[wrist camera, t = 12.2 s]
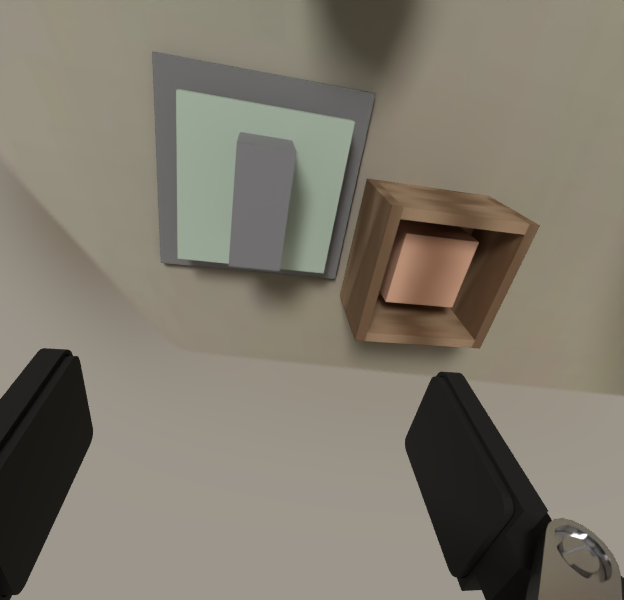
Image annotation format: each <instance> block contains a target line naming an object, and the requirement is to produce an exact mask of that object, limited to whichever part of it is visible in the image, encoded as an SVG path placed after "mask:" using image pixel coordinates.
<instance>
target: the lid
mask: <svg viewBox="0 0 624 600" xmlns="http://www.w3.org/2000/svg"><path fill="white" fill-rule="evenodd" d="M354 124H355V122H354V121H353V120H349V119H343V118H337V117H332V116H326V115H321V114H315V113H310V112H304V111H299V110H293V109H287V108H282V107H276V106H271V105H265V104H260V103H254V102H248V101H243V100H237V99H232V98H226V97H221V96H215V95H209V94H204V93H198V92H193V91H187V90H182V89H177V90H176V135H177V247H178V259H187V260H197V261H207V262H217V263H227V264H229V266H232V267H242V268H252V269H262V270H272V271H280V269H286V270H296V271H305V272H315V273H324V269H325V264H326V259H327V254H328V250H329V245H330V240H331V235H332V230H333V226H334V221H335V216H336V211H337V206H338V201H339V197H340V192H341V187H342V182H343V177H344V173H345V168H346V163H347V158H348V153H349V148H350V144H351V139H352V134H353V129H354Z"/></svg>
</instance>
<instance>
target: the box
mask: <svg viewBox="0 0 624 600" xmlns="http://www.w3.org/2000/svg"><path fill="white" fill-rule="evenodd" d="M539 226H540V225H538V224H536V223H535V222H533V221H531V220H529V219H528V218H526V217H524V216H523V215H521V214H519V213H517V212H516V211H514V210H512V209H510V208H509V207H507V206H505V205H503V204H502V203H500V202H498V201H497V200H495V199H493V198H491V197H490V196H483V195H476V194H469V193H462V192H455V191H449V190H442V189H435V188H428V187H421V186H414V185H407V184H400V183H393V182H386V181H379V180H372V179H367V181H366V186H365V190H364V194H363V198H362V203H361V207H360V211H359V216H358V220H357V224H356V229H355V233H354V237H353V241H352V246H351V250H350V254H349V259H348V263H347V267H346V272H345V276H344V280H343V284H342V289H341V293H340V297H341V300H342V303H343V306H344V309H345V312H346V315H347V318H348V321H349V324H350V326H351V329H352V332H353V335H354V338H355V340H356V341H372V342H387V343H403V344H418V345H434V346H449V347H465V348H480V347H481V345H482V343H483V341H484V339H485V337H486V335H487V333H488V331H489V329H490V327H491V325H492V323H493V320H494V318H495V316H496V314H497V312H498V310H499V308H500V306H501V304H502V302H503V300H504V298H505V296H506V294H507V292H508V290H509V288H510V286H511V284H512V282H513V279H514V277H515V275H516V273H517V271H518V269H519V267H520V265H521V263H522V261H523V259H524V257H525V255H526V253H527V251H528V249H529V247H530V245H531V243H532V240H533V238H534V236H535V234H536V232H537V230H538V228H539Z"/></svg>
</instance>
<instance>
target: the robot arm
mask: <svg viewBox="0 0 624 600" xmlns="http://www.w3.org/2000/svg"><path fill="white" fill-rule="evenodd" d="M92 436H93V427H92V422H91V416H90V411H89V406H88V401H87V395H86V390H85V385H84V380H83V374H82V369H81V364H80V360H79V358H78V357H77V356H73V355H72V352H71V351H70V350H64V349H63V350H62V349H46V348H43V349H40V350H39V351H38V352H37V354H36V355H35V356H34V357H33V359H32V360H31V361H30V363H29V364H28V365H27V366H26V367H25V369H24V370H23V371H22V373H21V374H20V375H19V376H18V378H17V379H16V380H15V382H14V383H13V384H12V385H11V386H10V388H9V389H8V390H7V392H6V393H5V394H4V395H3V397H2V398H1V399H0V600H10V598H11V596H12V595H18V594H19V593H20V592H21V591H22V589H23V588H24V586H25V584H26V582H27V580H28V578H29V576H30V573H31V571H32V569H33V567H34V565H35V563H36V561H37V558H38V556H39V554H40V552H41V550H42V548H43V545H44V543H45V541H46V539H47V537H48V535H49V532H50V530H51V528H52V526H53V524H54V522H55V519H56V517H57V515H58V513H59V511H60V509H61V506H62V504H63V502H64V500H65V498H66V496H67V493H68V491H69V489H70V487H71V484H72V483H73V480H74V478H75V476H76V474H77V472H78V470H79V467H80V465H81V463H82V461H83V458H84V457H85V454H86V452H87V450H88V448H89V446H90V443H91V440H92ZM405 448H406V452H407V454H408V457H409V460H410V463H411V466H412V468H413V471H414V474H415V477H416V480H417V482H418V485H419V488H420V490H421V494H422V496H423V499H424V502H425V505H426V507H427V510H428V513H429V516H430V518H431V521H432V524H433V527H434V530H435V533H436V535H437V538H438V541H439V543H440V546H441V549H442V552H443V554H444V558H445V560H446V563H447V566H448V568H449V571H450V572H451V574H452V575H453V576H454V577H457V579H458V582H459V585H460V587H461V590H462V591H466V590H467V591H468V590H482V592H483V594H484V597H485V599H486V600H624V578H623V577H622V576H621V574H620V570H619V566H618V564H617V562H616V560H615V558H614V556H613V554H612V553H611V551H610V550H609V549H608V547H607V546H606V545H605V544H604V542H602V540H601V539H599V538H598V537H597V536H596V535H595V534H594V533H593V532H592V531H590V530H589V529H587V528H586V527H584V526H583V525H581V524H579V523H577V522H575V521H572V520H568V519H564V518H560V519H554V520H553V521H552V520H551V518H550V517H549V515H548V513H547V512H548V510H547V508H546V507H545V505H544V503H543V502H542V500H541V498H540V497H539V495H538V494H537V492H536V491H535V489H534V487H533V486H532V484H531V483H530V481H529V479H528V478H527V476H526V475H525V473H524V471H523V470H522V468H521V467H520V465H519V464H518V462H517V461H516V459H515V457H514V455H513V454H512V453H511V451H510V449H509V448H508V446H507V445H506V443H505V441H504V440H503V438H502V436H501V435H500V433H499V432H498V430H497V429H496V427H495V425H494V424H493V422H492V420H491V419H490V417H489V416H488V414H487V412H486V411H485V409H484V408H483V406H482V405H481V403H480V401H479V400H478V398H477V397H476V395H475V393H474V392H473V390H472V389H471V387H470V386H469V384H468V382H467V381H466V379H465V377H464V376H463V375H462V374H461V373H453V372H439V373H438V374H437V376H436V377H433V378H432V379H431V381H430V383H429V385H428V388H427V390H426V392H425V395H424V397H423V399H422V401H421V404H420V406H419V408H418V411H417V413H416V416H415V418H414V420H413V422H412V424H411V427H410V429H409V431H408V434H407V436H406V439H405Z"/></svg>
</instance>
